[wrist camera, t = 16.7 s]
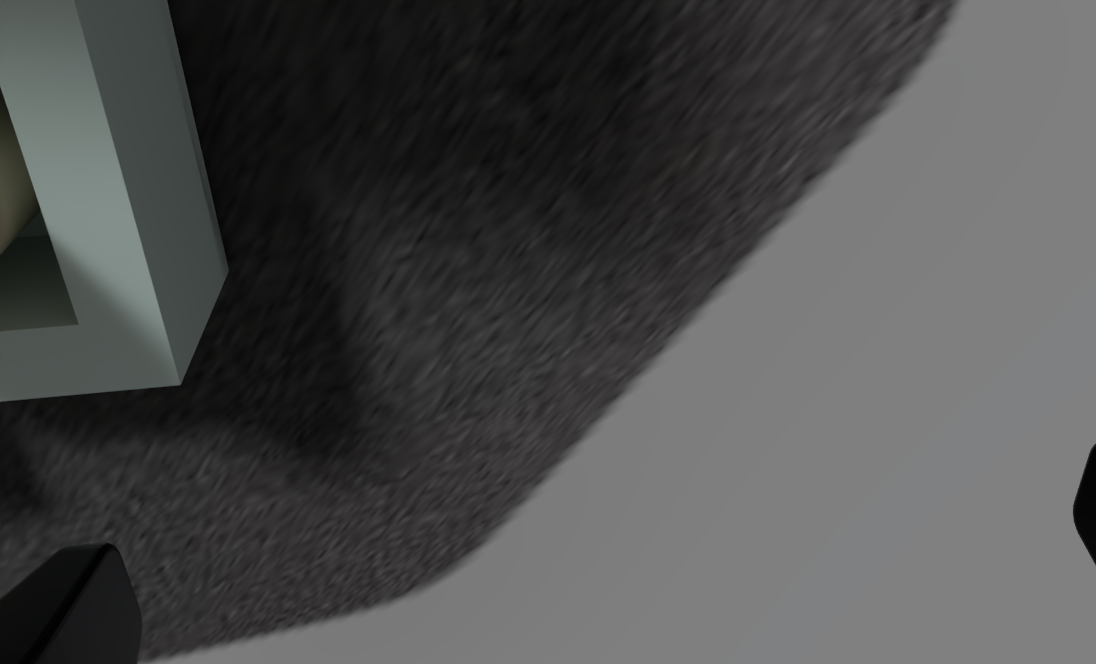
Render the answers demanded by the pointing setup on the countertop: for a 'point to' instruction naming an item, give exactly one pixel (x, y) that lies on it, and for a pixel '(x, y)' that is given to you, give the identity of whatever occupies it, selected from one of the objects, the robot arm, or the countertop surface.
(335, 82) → the countertop surface
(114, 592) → the robot arm
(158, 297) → the collar block
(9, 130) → the dowel
